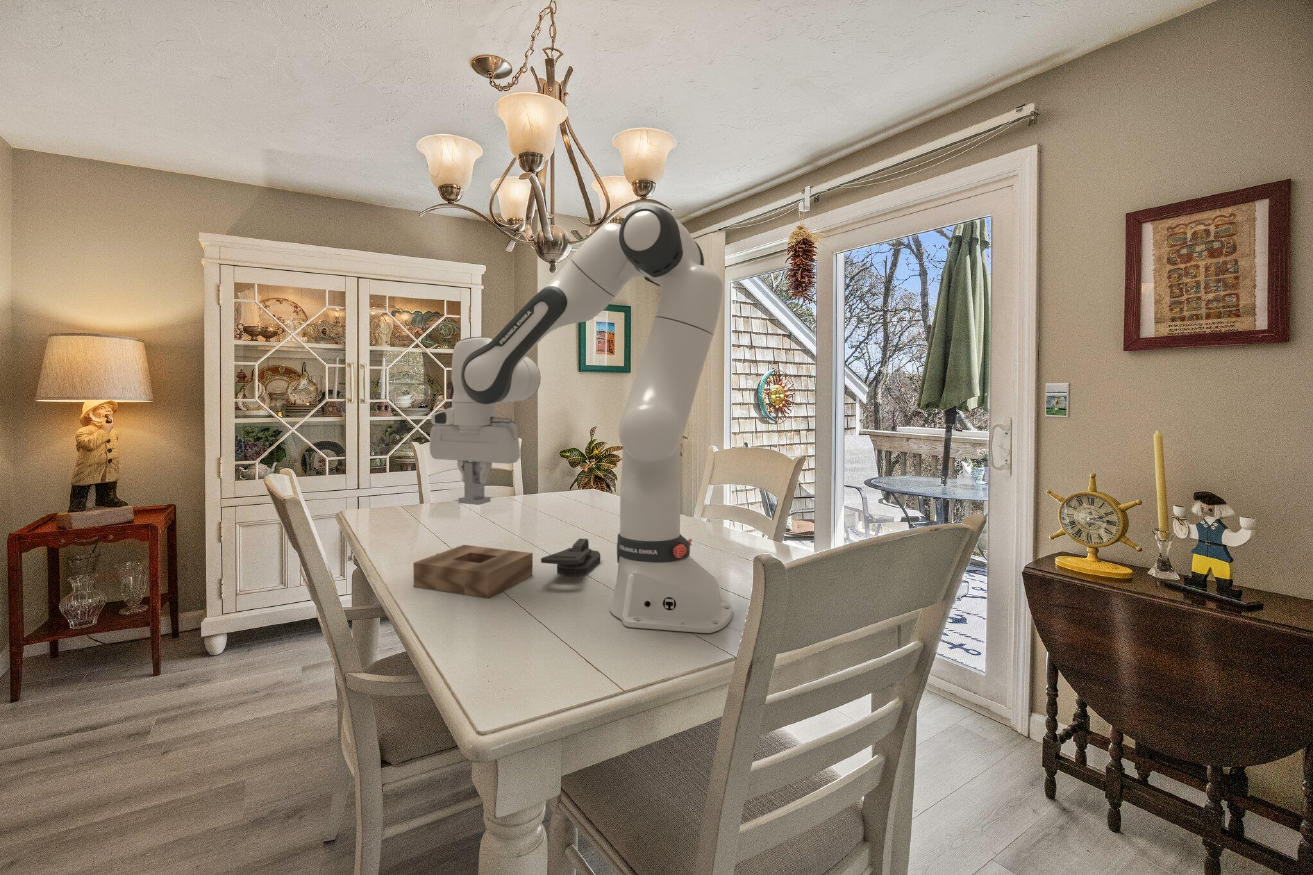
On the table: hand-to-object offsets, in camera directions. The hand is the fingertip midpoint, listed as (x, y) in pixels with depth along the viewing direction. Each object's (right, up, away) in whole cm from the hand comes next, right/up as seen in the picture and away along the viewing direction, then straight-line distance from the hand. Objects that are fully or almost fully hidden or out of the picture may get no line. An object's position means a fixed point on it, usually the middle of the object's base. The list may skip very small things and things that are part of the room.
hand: (474, 482), depth 127 cm
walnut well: (0, -21, +2) cm, 21 cm away
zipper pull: (+19, -21, +8) cm, 30 cm away
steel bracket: (0, -4, 0) cm, 4 cm away
